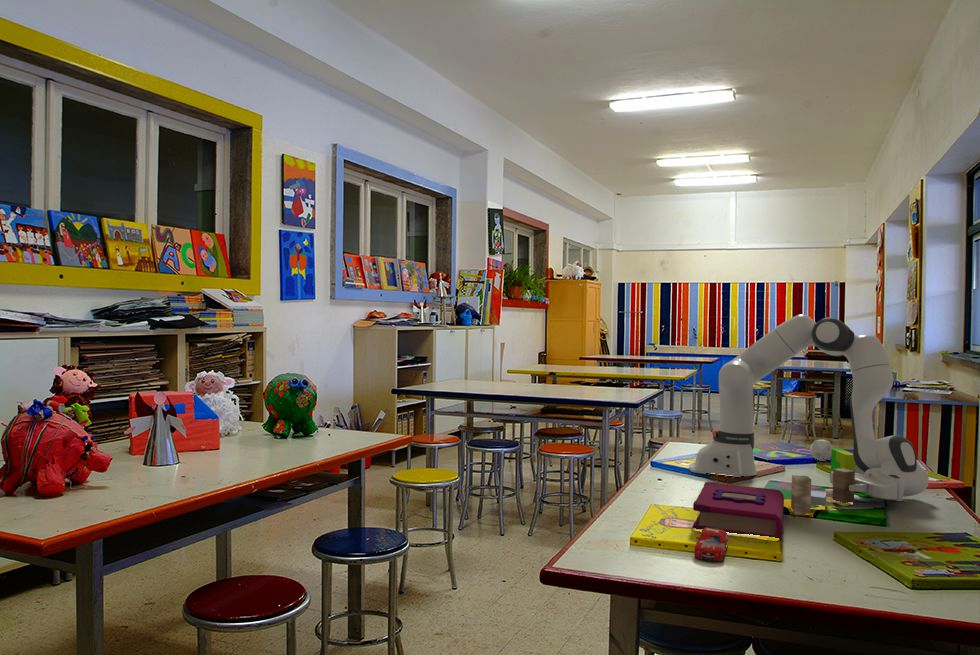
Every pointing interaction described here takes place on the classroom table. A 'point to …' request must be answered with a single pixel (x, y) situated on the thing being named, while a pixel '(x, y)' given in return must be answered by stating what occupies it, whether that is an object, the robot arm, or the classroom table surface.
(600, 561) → the classroom table surface
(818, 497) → the slate block
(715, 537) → the race car
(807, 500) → the maple block
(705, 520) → the book
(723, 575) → the classroom table surface
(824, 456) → the grey rounded lump
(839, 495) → the walnut block
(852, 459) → the puzzle toy
